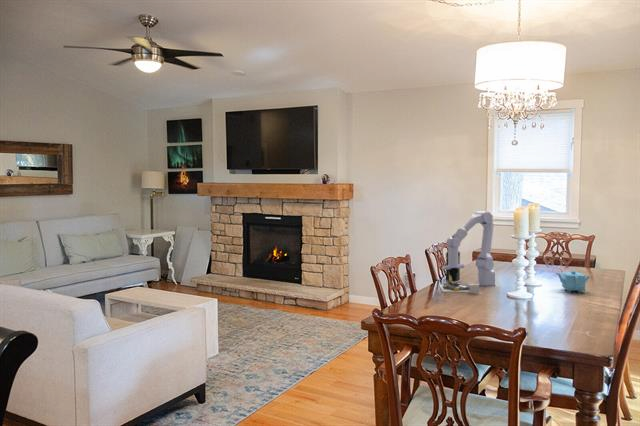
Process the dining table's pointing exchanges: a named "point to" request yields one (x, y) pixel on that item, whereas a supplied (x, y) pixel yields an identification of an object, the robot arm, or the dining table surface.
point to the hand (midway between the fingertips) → (453, 281)
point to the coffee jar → (457, 268)
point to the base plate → (452, 289)
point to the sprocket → (455, 285)
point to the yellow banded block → (473, 288)
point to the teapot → (573, 281)
